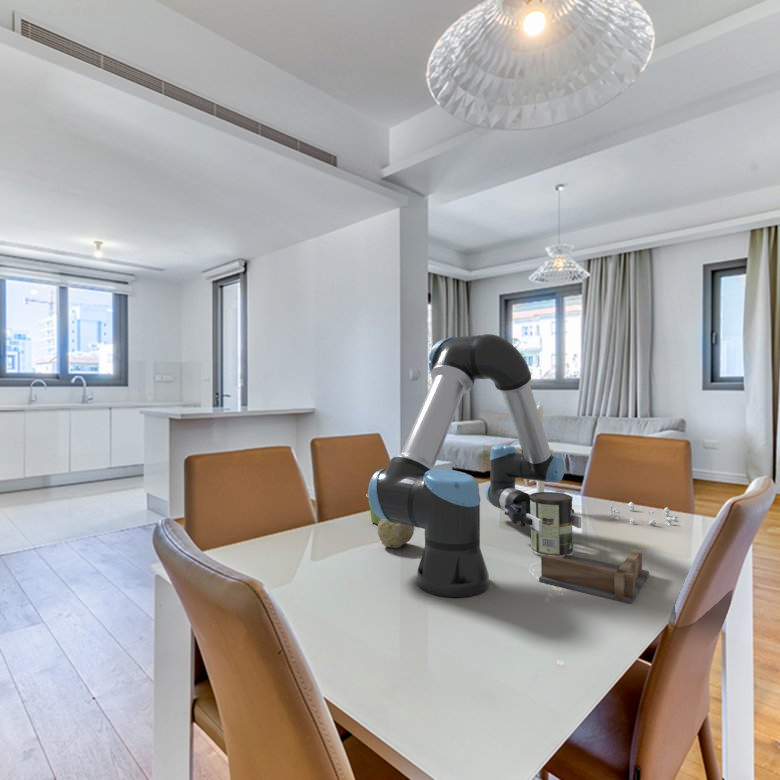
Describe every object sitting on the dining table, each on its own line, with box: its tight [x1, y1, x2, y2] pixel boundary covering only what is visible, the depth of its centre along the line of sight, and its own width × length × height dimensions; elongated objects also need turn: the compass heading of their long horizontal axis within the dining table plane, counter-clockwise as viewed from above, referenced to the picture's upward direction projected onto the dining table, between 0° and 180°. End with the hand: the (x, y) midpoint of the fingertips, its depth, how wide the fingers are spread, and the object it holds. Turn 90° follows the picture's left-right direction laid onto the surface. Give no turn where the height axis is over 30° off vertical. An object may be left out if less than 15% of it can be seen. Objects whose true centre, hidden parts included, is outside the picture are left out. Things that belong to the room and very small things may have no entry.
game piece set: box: [606, 501, 677, 526], centre depth 152 cm, size 19×20×4 cm
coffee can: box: [529, 491, 574, 558], centre depth 122 cm, size 10×10×14 cm
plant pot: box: [365, 493, 381, 525], centre depth 151 cm, size 9×9×9 cm
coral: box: [377, 519, 415, 549], centre depth 128 cm, size 10×10×10 cm
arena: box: [538, 548, 650, 605], centre depth 105 cm, size 18×18×5 cm
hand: (560, 524), depth 118 cm, fingers closed on coffee can, 10 cm apart
